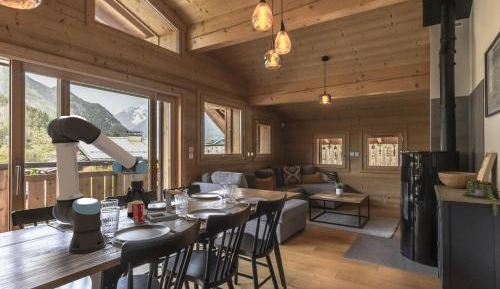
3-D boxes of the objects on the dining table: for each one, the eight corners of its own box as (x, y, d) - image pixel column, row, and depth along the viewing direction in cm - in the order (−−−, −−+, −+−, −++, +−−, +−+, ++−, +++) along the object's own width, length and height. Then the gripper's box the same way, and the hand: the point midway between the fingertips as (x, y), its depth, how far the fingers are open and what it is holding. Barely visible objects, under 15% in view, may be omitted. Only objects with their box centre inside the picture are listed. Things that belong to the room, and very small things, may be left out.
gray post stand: (151, 222, 176) (150, 199, 176) (145, 217, 188) (145, 195, 187) (178, 218, 186) (178, 195, 186) (171, 213, 198) (171, 192, 198)
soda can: (142, 224, 173) (142, 203, 173) (131, 224, 173) (131, 203, 173) (147, 221, 180) (147, 201, 180) (136, 221, 180) (136, 201, 180)
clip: (164, 193, 193) (164, 188, 193) (167, 192, 196) (167, 188, 196) (182, 195, 187) (181, 190, 187) (185, 194, 190) (185, 189, 190)
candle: (126, 217, 189) (126, 203, 189) (136, 214, 199) (136, 200, 199) (139, 218, 186) (139, 204, 186) (148, 215, 196) (148, 201, 196)
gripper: (118, 180, 178) (119, 212, 178) (146, 182, 167) (147, 217, 167) (128, 178, 185) (128, 210, 185) (156, 180, 174) (156, 214, 174)
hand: (137, 213), depth 176 cm, fingers open, 13 cm apart
